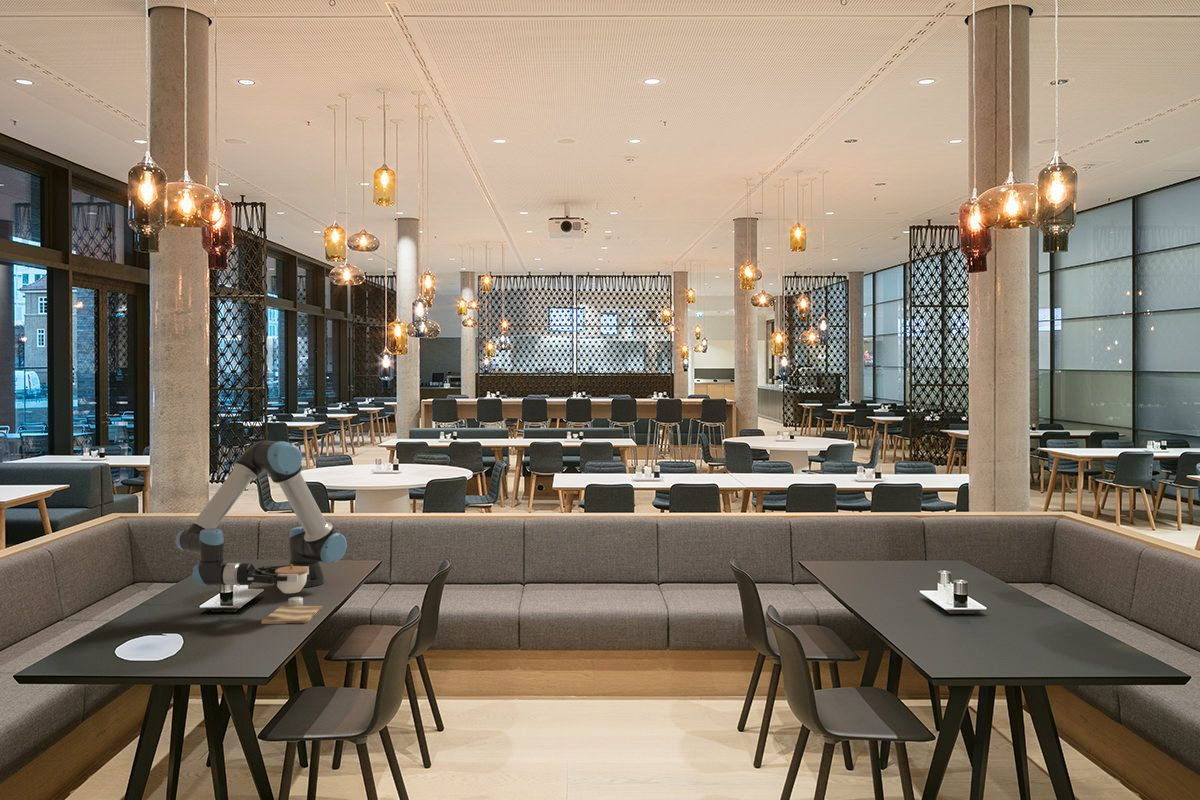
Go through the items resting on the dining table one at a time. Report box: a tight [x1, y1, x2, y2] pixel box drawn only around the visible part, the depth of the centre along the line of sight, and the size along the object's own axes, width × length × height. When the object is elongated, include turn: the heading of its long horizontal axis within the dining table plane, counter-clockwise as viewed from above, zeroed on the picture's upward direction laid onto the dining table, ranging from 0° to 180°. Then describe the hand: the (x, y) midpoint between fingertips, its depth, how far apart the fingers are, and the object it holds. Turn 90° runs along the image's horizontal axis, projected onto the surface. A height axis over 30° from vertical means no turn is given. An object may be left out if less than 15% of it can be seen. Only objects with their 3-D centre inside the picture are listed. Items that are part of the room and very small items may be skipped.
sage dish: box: [287, 596, 304, 606], centre depth 317 cm, size 5×5×3 cm
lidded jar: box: [275, 564, 307, 594], centre depth 304 cm, size 11×11×9 cm
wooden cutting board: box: [261, 605, 323, 625], centre depth 305 cm, size 18×15×1 cm
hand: (303, 574), depth 304 cm, fingers closed on lidded jar, 11 cm apart
